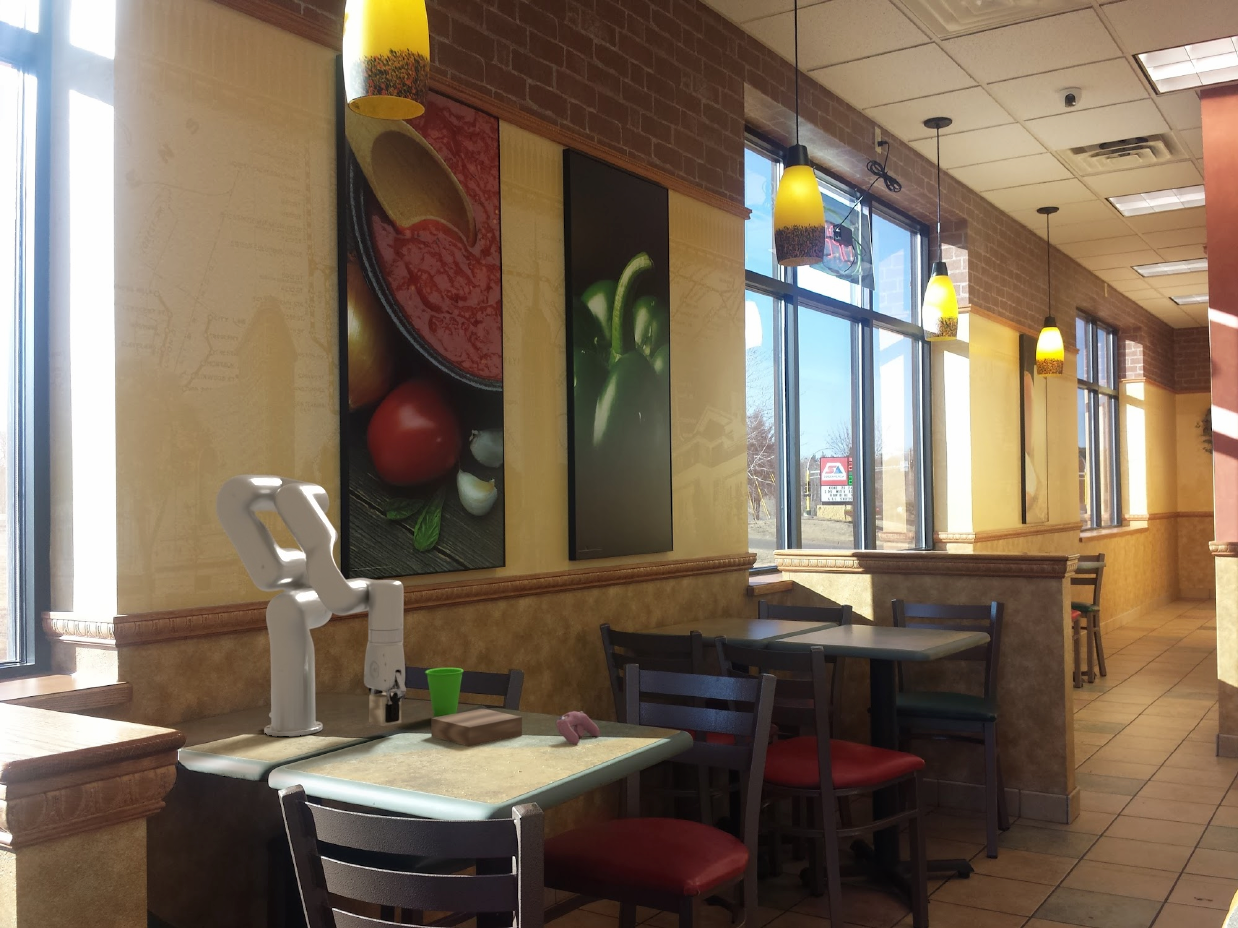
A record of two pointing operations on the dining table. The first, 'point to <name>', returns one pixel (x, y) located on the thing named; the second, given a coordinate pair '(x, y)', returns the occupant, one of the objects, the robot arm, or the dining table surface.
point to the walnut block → (476, 727)
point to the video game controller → (576, 726)
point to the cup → (444, 690)
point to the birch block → (380, 709)
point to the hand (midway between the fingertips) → (385, 718)
